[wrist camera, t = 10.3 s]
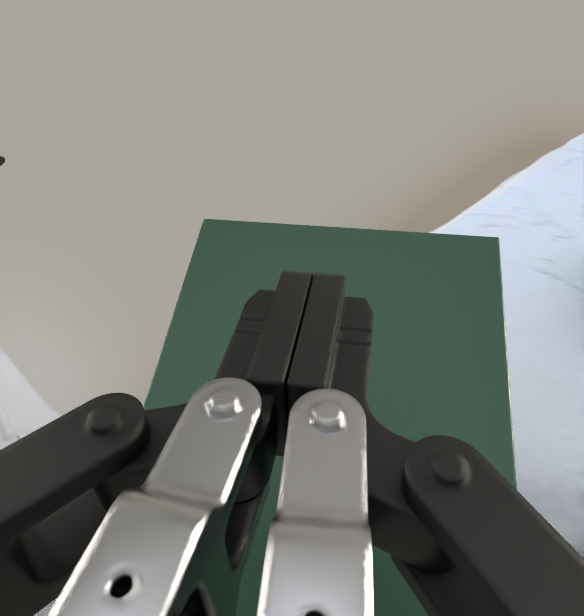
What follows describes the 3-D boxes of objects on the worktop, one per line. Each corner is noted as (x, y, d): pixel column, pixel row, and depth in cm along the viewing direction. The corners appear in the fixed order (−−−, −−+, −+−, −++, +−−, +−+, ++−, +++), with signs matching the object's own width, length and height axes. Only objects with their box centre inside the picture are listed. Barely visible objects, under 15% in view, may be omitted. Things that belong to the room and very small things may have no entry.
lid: (207, 229, 22) (203, 218, 21) (494, 248, 20) (499, 236, 19) (84, 623, 15) (72, 625, 14) (524, 716, 13) (534, 722, 12)
